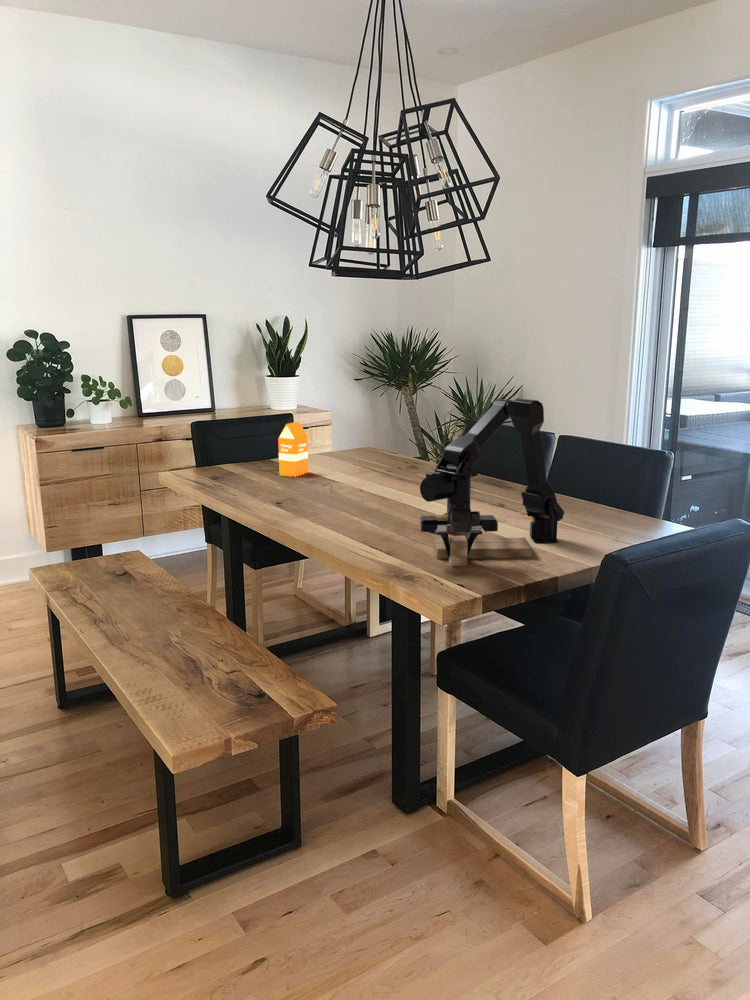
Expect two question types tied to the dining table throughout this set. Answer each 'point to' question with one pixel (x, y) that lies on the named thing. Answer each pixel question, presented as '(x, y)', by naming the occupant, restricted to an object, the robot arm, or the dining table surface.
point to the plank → (490, 548)
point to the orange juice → (293, 450)
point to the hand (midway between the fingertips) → (457, 557)
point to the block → (458, 550)
